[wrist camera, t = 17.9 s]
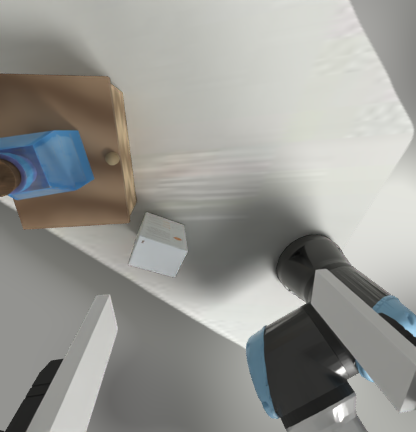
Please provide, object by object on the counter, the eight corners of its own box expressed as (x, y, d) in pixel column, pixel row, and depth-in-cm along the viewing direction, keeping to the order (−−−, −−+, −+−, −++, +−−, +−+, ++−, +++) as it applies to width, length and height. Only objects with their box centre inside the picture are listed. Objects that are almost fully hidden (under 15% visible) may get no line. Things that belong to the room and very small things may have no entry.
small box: (136, 235, 44) (126, 265, 34) (146, 210, 42) (138, 234, 32) (174, 247, 46) (175, 279, 36) (185, 224, 44) (188, 251, 35)
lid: (130, 220, 34) (128, 225, 32) (27, 226, 32) (19, 231, 30) (109, 78, 27) (105, 74, 25) (-22, 74, 25) (-36, 70, 23)
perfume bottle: (78, 130, 28) (15, 129, 17) (94, 178, 30) (49, 207, 19) (26, 137, 27) (-75, 142, 16) (46, 186, 29) (-29, 220, 18)
